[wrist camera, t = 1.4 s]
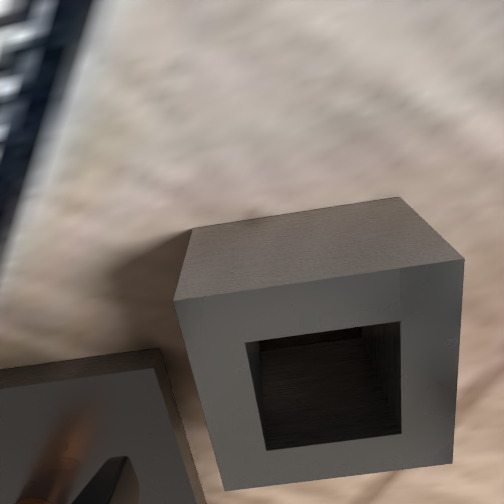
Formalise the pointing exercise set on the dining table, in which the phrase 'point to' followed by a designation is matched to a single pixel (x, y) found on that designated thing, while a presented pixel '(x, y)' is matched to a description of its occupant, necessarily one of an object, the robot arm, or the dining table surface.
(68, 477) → the grey socket block
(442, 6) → the dining table surface
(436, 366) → the grey hollow block
